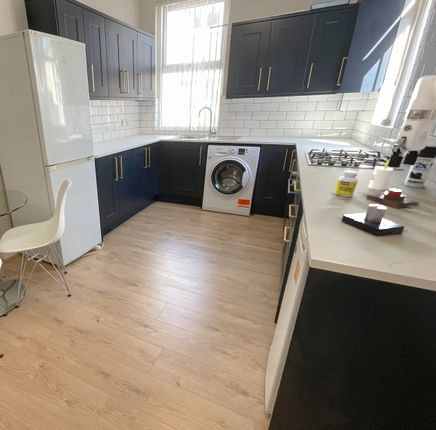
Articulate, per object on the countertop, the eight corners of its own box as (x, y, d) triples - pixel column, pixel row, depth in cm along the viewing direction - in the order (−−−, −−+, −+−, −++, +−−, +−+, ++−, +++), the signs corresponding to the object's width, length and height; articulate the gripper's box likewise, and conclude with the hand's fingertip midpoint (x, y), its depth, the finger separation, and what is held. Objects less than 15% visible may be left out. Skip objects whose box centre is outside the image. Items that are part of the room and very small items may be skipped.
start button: (403, 195, 114) (405, 191, 113) (395, 196, 113) (397, 191, 112) (392, 193, 118) (394, 188, 117) (384, 193, 117) (386, 188, 116)
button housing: (416, 207, 112) (420, 197, 111) (396, 208, 110) (400, 199, 109) (384, 197, 123) (388, 189, 122) (366, 199, 121) (369, 190, 120)
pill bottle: (331, 197, 124) (339, 171, 120) (335, 194, 128) (343, 169, 123) (349, 200, 119) (358, 174, 115) (353, 197, 123) (362, 171, 119)
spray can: (402, 187, 138) (418, 146, 130) (403, 184, 142) (419, 144, 134) (421, 190, 133) (439, 147, 125) (422, 187, 137) (440, 146, 130)
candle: (364, 187, 137) (375, 157, 132) (381, 188, 135) (392, 157, 130) (370, 191, 132) (382, 159, 126) (388, 192, 130) (400, 160, 124)
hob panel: (401, 233, 90) (404, 226, 89) (376, 236, 88) (379, 228, 87) (364, 219, 101) (366, 212, 100) (341, 221, 99) (343, 214, 98)
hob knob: (372, 217, 96) (378, 203, 94) (385, 222, 92) (391, 207, 90) (360, 217, 96) (365, 203, 94) (372, 223, 92) (378, 208, 89)
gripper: (421, 117, 88) (400, 170, 95) (448, 115, 94) (427, 165, 101) (391, 116, 95) (374, 165, 101) (419, 114, 101) (401, 161, 107)
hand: (401, 165), depth 101 cm, fingers open, 9 cm apart
